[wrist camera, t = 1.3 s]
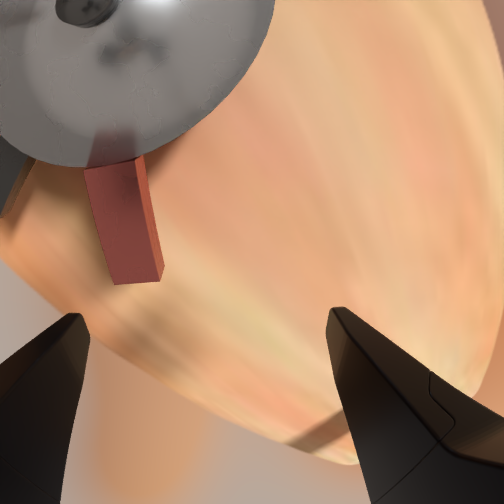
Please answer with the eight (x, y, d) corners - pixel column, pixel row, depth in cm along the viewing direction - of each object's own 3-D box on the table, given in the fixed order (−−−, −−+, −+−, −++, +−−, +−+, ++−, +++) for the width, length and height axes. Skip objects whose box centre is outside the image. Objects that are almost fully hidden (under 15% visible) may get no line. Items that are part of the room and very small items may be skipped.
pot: (183, -114, 8) (174, -152, 4) (340, -1, 14) (374, -24, 9) (-30, 131, 15) (-73, 147, 10) (90, 245, 20) (61, 285, 16)
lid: (-6, -43, 6) (-29, -51, 3) (259, -120, 6) (264, -144, 4) (34, 277, 15) (15, 301, 13) (285, 254, 16) (294, 281, 14)
